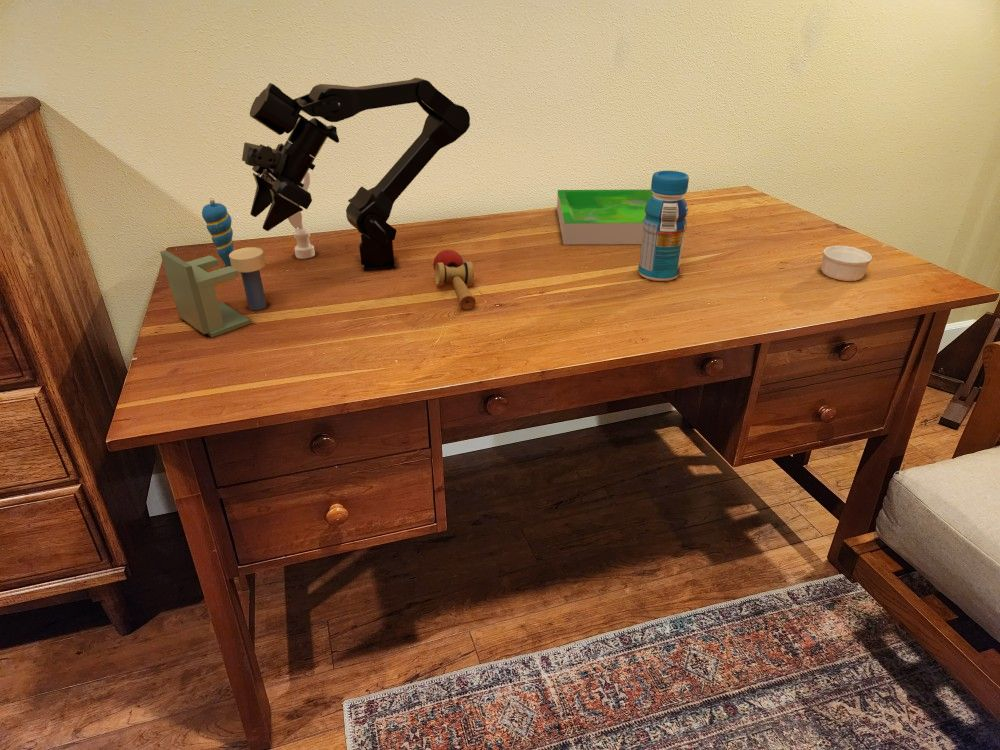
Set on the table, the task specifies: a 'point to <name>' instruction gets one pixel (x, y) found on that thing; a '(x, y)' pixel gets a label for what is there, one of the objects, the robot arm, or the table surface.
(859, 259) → the ramekin
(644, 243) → the beverage bottle
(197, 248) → the table surface
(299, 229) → the decorative finial
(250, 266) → the peg
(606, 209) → the tray
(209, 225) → the ornament
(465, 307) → the kendama
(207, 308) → the stand
